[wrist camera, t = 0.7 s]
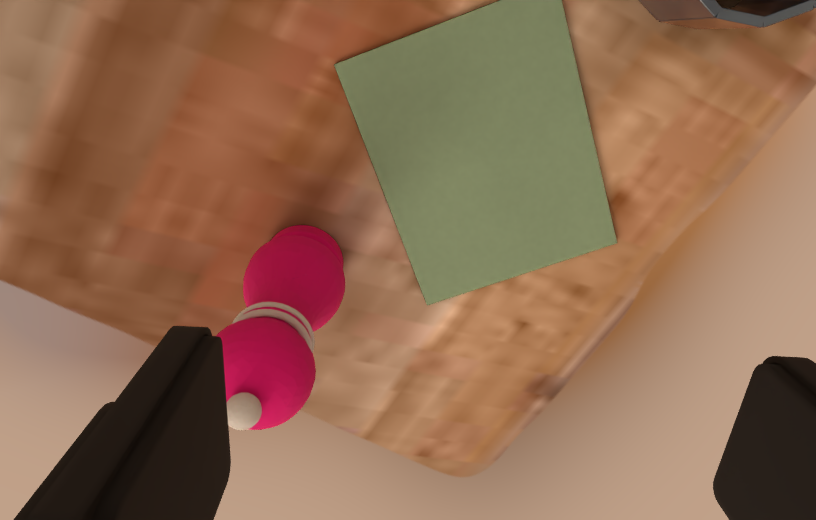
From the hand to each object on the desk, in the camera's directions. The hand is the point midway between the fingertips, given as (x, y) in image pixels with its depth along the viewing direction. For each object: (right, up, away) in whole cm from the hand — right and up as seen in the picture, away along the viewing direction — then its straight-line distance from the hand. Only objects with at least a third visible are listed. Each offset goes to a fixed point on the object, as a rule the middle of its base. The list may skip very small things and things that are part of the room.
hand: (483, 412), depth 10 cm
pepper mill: (-10, +3, +35) cm, 36 cm away
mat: (+4, +10, +32) cm, 34 cm away
